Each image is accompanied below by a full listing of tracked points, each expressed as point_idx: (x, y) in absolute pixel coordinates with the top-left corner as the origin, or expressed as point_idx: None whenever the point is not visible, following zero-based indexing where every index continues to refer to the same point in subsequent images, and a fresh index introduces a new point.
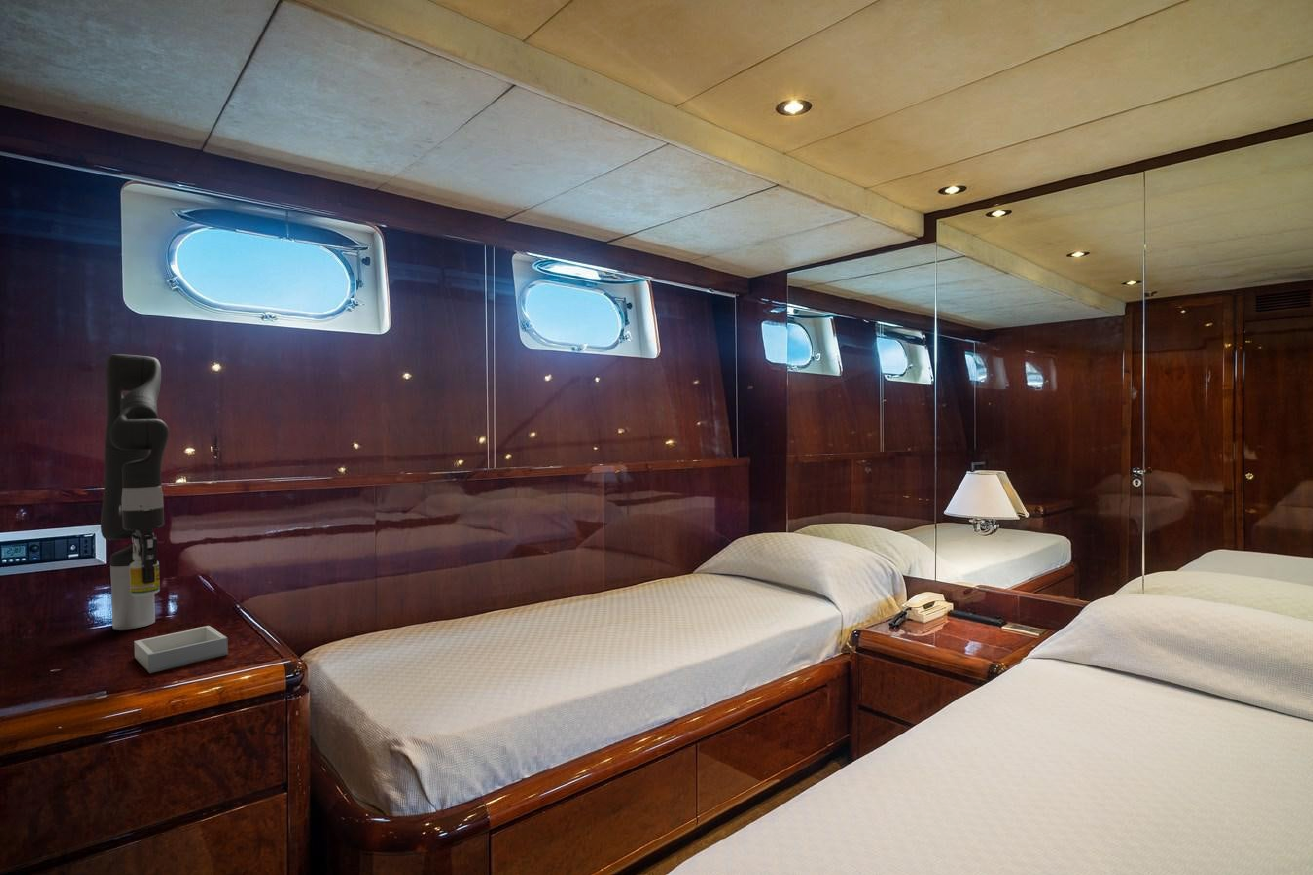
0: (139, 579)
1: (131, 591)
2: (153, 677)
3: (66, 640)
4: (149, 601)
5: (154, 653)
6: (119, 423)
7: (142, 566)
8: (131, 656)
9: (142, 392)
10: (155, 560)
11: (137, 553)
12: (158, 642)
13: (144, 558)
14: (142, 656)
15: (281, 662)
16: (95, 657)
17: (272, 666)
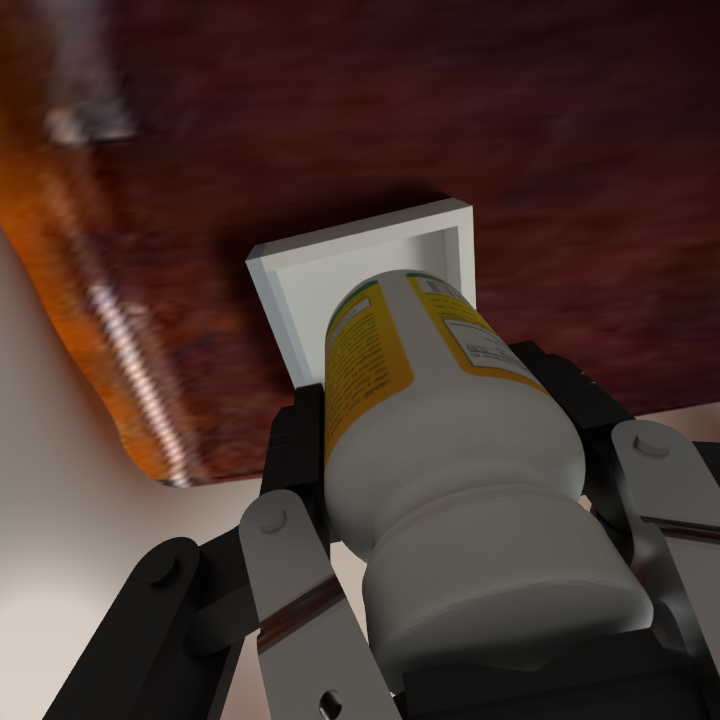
0: (326, 382)
1: (373, 285)
2: (205, 257)
3: None
4: None
5: (254, 275)
6: None
7: (252, 508)
8: (480, 185)
9: None
10: (179, 650)
11: (306, 674)
12: (455, 269)
13: (83, 667)
14: (343, 230)
15: (182, 476)
16: (573, 64)
17: (161, 465)
